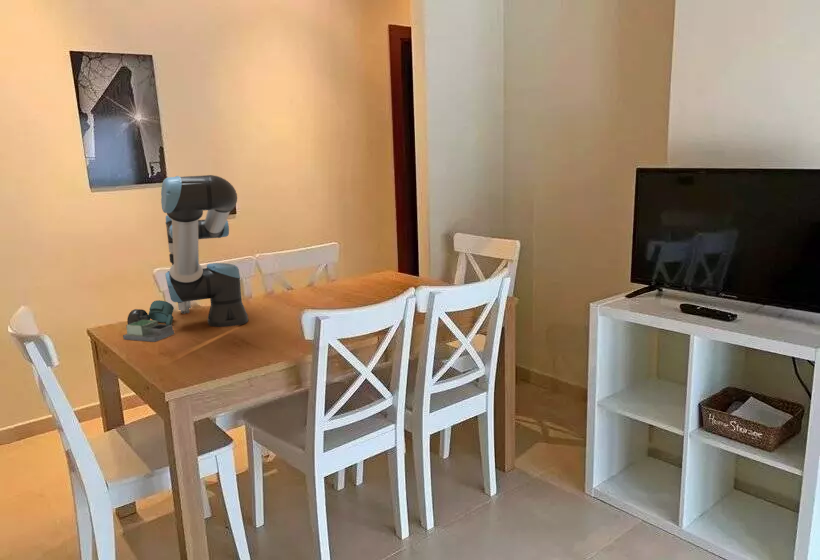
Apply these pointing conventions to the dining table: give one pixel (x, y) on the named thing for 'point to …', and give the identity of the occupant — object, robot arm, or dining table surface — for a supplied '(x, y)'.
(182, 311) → the pin
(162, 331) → the grey base plate
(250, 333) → the dining table surface
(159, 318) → the dark teal rounded block
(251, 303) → the dining table surface
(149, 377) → the dining table surface
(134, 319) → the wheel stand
